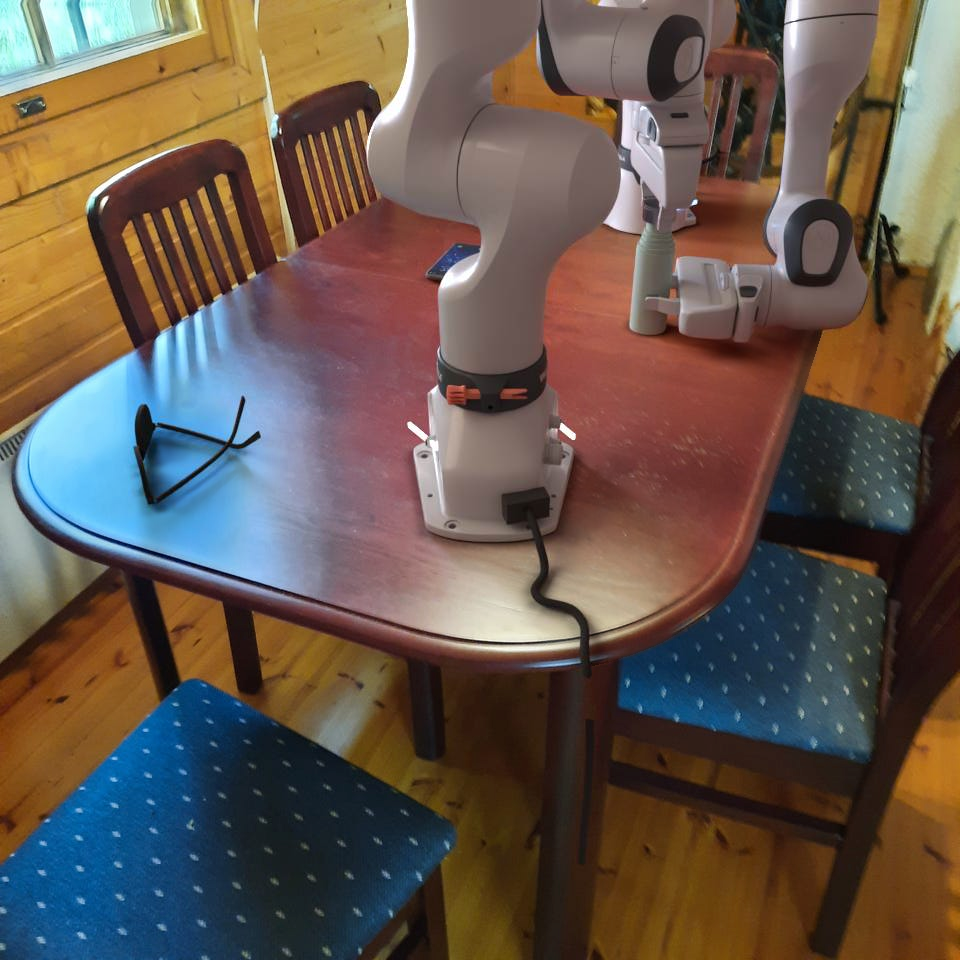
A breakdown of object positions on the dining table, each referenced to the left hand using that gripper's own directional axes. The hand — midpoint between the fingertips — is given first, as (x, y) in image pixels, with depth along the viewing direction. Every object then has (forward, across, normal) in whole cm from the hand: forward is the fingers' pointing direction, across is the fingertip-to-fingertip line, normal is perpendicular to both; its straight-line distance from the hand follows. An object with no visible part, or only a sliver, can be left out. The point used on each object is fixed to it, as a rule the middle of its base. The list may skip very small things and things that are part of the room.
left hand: (655, 219), depth 117 cm
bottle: (+16, 0, 0) cm, 16 cm away
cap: (-2, 0, 0) cm, 2 cm away
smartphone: (+16, -26, -26) cm, 40 cm away
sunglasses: (+16, +27, -60) cm, 68 cm away
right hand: (+11, 0, 0) cm, 11 cm away
